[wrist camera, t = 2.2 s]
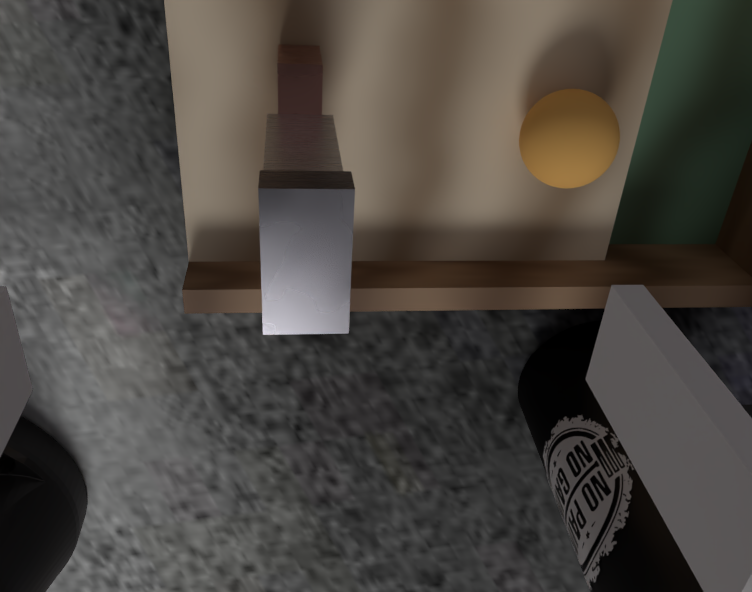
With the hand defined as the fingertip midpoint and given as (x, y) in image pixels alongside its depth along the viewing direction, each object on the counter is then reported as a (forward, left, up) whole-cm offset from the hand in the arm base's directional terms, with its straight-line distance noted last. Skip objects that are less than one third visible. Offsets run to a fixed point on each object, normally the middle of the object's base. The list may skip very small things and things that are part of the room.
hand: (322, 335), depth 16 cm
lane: (+9, 0, -18) cm, 20 cm away
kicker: (0, 0, -16) cm, 16 cm away
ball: (+11, 0, -14) cm, 18 cm away
